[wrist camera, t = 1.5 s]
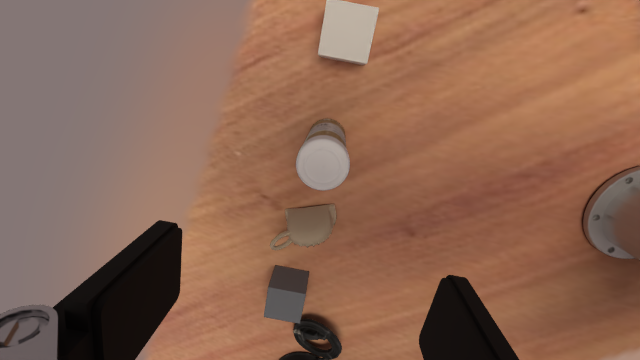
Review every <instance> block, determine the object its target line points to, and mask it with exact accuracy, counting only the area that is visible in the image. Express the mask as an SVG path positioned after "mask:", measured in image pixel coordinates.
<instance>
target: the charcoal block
mask: <svg viewBox="0 0 640 360" xmlns="http://www.w3.org/2000/svg"><path fill="white" fill-rule="evenodd" d="M308 276H309V271H304V270H299V269H294V268H288V267H283V266H278V265H275V268H274V271H273V274H272V277H271V280H270V284H269V287H268V292H267V299H266V306H265V312H264V317H267V318H272V319H278V320H283V321H288V322H294V323H299V324H300V320H301V315H302V311H303V306H304V301H305V296H306V290H307V283H308Z"/></svg>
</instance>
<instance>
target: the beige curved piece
mask: <svg viewBox="0 0 640 360" xmlns="http://www.w3.org/2000/svg"><path fill="white" fill-rule="evenodd" d="M285 215H286V220H287V231H284V232H282V233H280V234H279V235H277V236H276V237H275V238H274V239H273V240H272V241H271V244H270V247H271V249H272V250H280V249H282V248H285V247H286V246H288V245H289V244H291V243H292V242H294V244H298V245H300V246H306V247H309V246H311V245H312V246H313V247H314V246H315V245H316V244H318V245H319V244H320V243H322V242H324V241H325V240H326V239H327V238H329V235H330V234H331V232H332V229H333V225H334V224H335V221H336V210H335V206H334V204H328V205H322V206H315V207H308V208H290V209H285ZM285 236H289V239H288V240H287V241H286V242H284V243H283V244H281V245H279V246H274V245H275V243H276V242H277V241H278V240H279V239H281V238H282V237H285Z"/></svg>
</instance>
